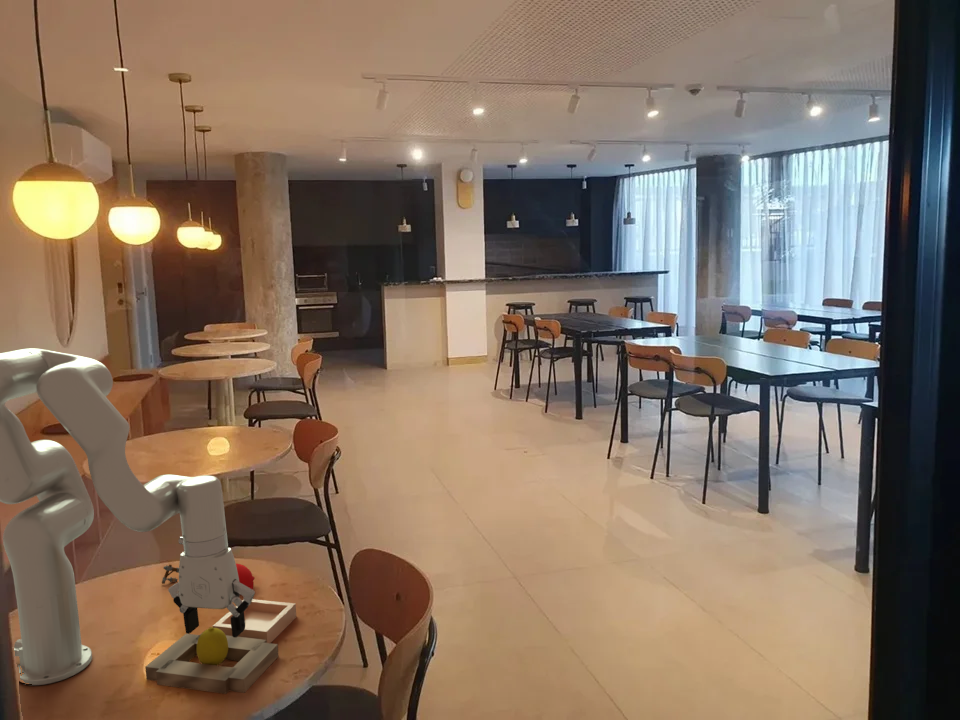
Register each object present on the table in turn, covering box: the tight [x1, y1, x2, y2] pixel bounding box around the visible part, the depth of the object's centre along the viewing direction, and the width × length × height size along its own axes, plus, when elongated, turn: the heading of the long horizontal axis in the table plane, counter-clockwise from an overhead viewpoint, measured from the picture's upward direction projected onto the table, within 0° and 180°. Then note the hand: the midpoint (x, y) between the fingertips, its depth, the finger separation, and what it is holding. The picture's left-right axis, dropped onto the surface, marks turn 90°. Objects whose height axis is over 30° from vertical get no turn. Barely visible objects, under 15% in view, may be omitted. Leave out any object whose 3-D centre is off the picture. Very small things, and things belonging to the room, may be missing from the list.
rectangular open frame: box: [144, 632, 279, 695], centre depth 137 cm, size 20×14×2 cm
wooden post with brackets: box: [161, 564, 179, 585], centre depth 175 cm, size 2×8×4 cm, turn 130°
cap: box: [236, 563, 256, 590], centre depth 169 cm, size 8×6×6 cm
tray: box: [212, 598, 297, 643], centre depth 152 cm, size 12×12×3 cm
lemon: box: [197, 626, 228, 666], centre depth 137 cm, size 6×6×8 cm
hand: (215, 631), depth 137 cm, fingers open, 9 cm apart
